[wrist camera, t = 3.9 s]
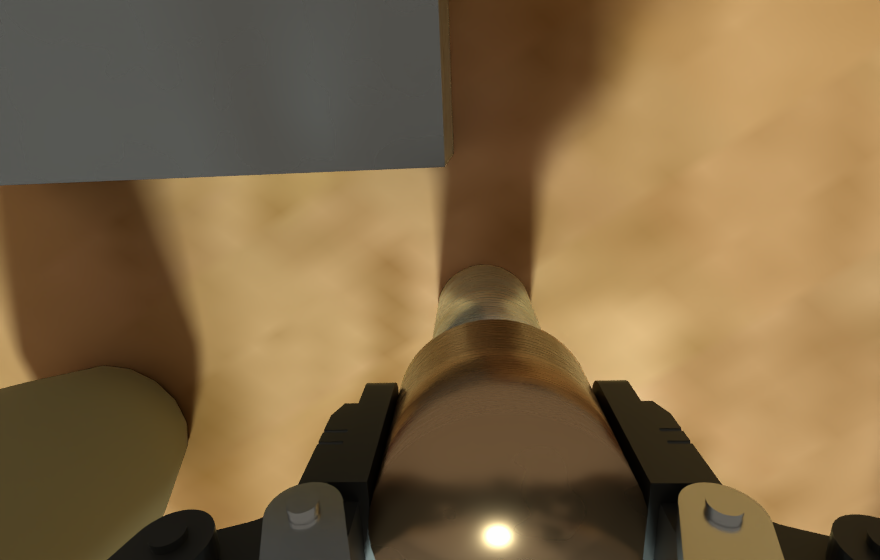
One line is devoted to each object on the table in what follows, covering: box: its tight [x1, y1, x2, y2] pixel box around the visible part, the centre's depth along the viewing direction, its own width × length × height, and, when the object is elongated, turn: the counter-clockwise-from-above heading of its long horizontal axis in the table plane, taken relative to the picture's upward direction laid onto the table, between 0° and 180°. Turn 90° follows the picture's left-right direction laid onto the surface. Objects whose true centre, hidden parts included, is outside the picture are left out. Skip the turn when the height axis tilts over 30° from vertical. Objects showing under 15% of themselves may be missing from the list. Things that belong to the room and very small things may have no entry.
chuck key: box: [368, 265, 648, 560], centre depth 13 cm, size 5×5×11 cm
